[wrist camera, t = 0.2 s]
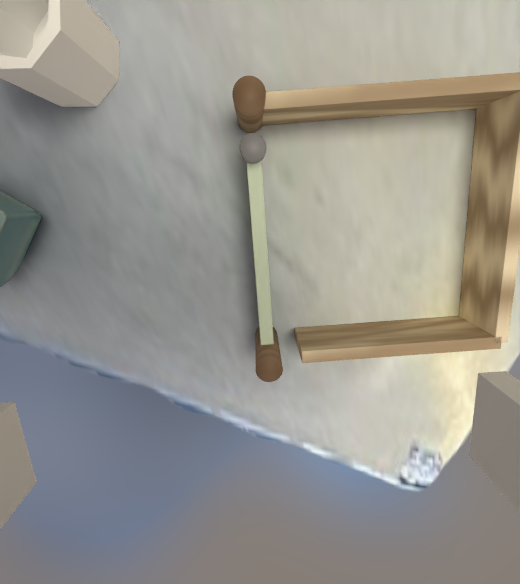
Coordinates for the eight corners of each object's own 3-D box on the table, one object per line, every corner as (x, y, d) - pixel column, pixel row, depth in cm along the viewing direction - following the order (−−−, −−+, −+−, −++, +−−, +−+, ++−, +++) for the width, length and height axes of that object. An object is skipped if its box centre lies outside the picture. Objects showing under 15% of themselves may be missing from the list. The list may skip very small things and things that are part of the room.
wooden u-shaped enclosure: (236, 106, 32) (231, 77, 24) (491, 86, 32) (566, 50, 24) (256, 345, 39) (256, 382, 31) (468, 330, 38) (521, 363, 31)
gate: (274, 324, 37) (279, 352, 30) (256, 326, 37) (256, 353, 30) (263, 145, 32) (265, 131, 26) (241, 147, 32) (238, 133, 26)
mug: (135, 33, 31) (81, -40, 21) (102, 128, 33) (39, 99, 23) (1, -42, 29) (-122, -159, 19) (-25, 62, 31) (-149, 2, 21)
